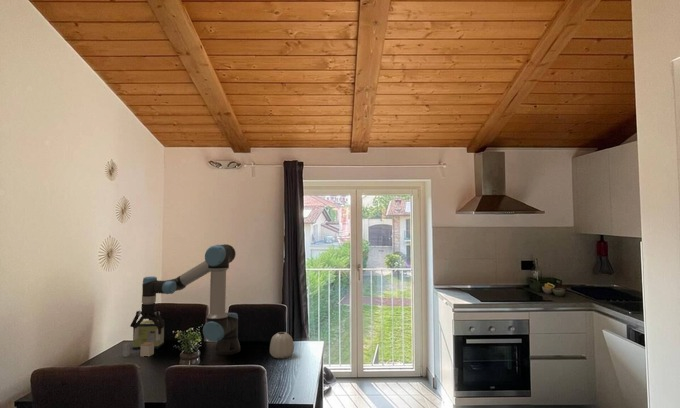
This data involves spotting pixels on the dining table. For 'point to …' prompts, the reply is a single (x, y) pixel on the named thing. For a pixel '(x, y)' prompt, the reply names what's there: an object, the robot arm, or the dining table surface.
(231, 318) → the robot arm
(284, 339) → the vase
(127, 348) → the post
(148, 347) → the beige faceted cup
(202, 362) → the dining table surface
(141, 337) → the protein box
